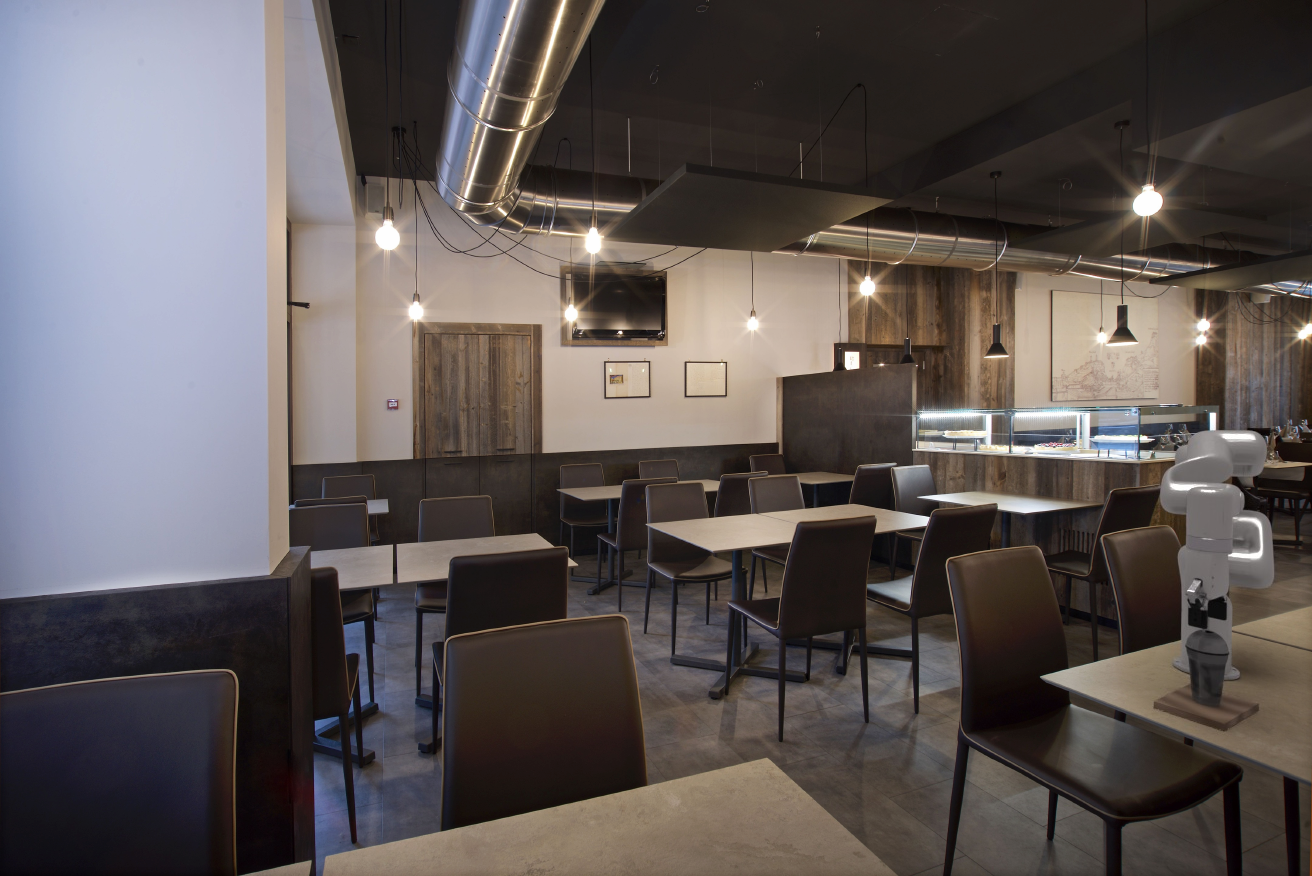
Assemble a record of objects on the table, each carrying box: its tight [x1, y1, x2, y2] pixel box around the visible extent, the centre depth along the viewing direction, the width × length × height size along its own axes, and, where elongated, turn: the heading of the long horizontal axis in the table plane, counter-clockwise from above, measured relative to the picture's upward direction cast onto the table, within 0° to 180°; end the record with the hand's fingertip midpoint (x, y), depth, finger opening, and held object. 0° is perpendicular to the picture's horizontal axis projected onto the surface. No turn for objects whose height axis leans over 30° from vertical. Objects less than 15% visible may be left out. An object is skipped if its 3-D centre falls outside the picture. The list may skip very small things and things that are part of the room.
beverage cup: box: [1185, 629, 1229, 707], centre depth 137 cm, size 7×7×20 cm
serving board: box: [1153, 683, 1260, 732], centre depth 137 cm, size 18×12×2 cm, turn 120°
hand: (1207, 622), depth 137 cm, fingers open, 9 cm apart
